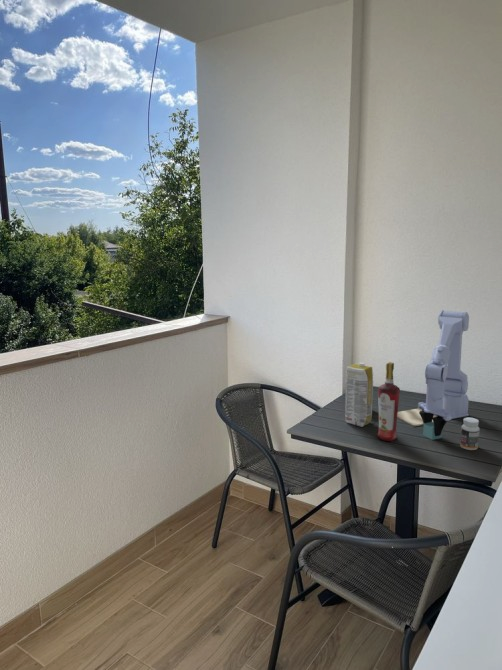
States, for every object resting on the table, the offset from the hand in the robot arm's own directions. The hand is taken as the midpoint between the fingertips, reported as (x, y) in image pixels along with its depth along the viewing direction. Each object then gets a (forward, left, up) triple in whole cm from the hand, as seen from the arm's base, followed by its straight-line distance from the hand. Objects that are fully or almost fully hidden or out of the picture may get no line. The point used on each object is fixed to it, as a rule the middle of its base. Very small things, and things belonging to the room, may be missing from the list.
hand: (432, 432), depth 171 cm
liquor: (+16, -5, -2) cm, 17 cm away
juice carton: (+17, -22, -2) cm, 28 cm away
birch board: (-7, -17, -1) cm, 18 cm away
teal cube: (0, 0, -1) cm, 1 cm away
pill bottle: (-5, +12, -2) cm, 13 cm away
